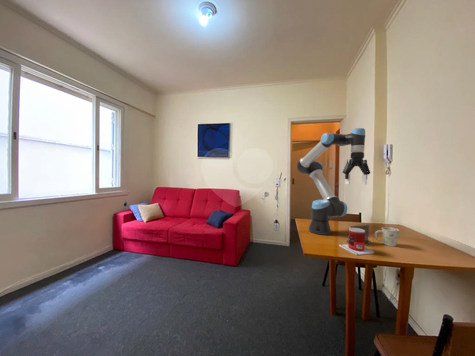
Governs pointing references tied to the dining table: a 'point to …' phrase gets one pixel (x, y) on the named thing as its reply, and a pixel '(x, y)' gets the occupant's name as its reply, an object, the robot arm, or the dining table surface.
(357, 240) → the canned food
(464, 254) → the dining table surface
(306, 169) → the robot arm
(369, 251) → the mat
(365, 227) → the brown block
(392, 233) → the mug
